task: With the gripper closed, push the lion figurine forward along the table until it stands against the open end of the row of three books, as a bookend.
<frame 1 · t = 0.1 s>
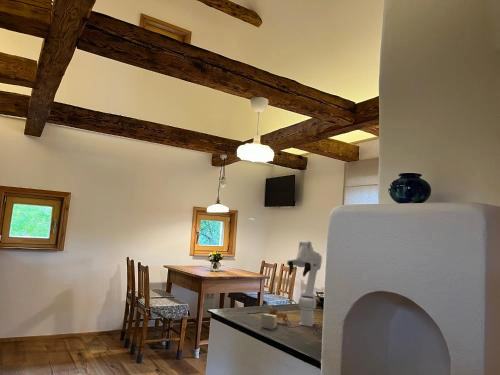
hand: (296, 274, 204), 32 cm above the countertop, tool tilted 50°, fingers open, 7 cm apart
lion figurine: (277, 323, 225), on the countertop
book row: (268, 326, 216), on the countertop
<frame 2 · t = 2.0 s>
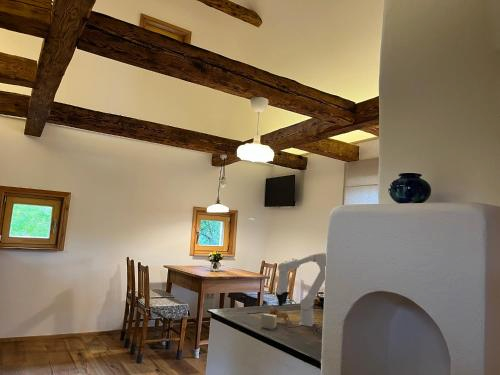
hand: (282, 304, 234), 9 cm above the countertop, tool pointing down, fingers open, 6 cm apart
nothing on the countertop moved.
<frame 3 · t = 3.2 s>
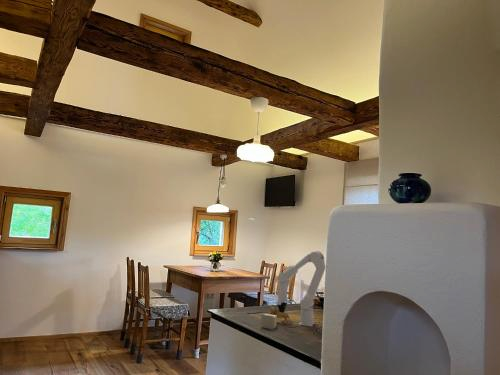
hand: (281, 314, 233), 3 cm above the countertop, tool pointing down, fingers closed
nothing on the countertop moved.
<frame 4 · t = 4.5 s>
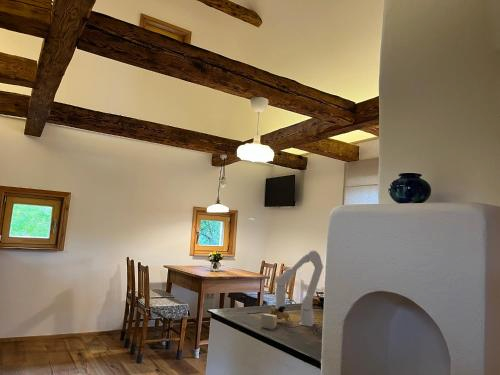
hand: (279, 318, 229), 2 cm above the countertop, tool pointing down, fingers closed
lion figurine: (279, 323, 225), on the countertop, touching gripper
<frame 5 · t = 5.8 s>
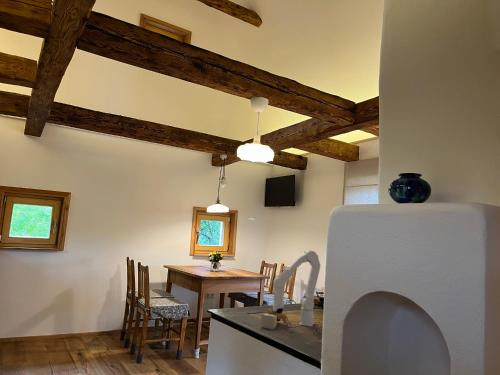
hand: (277, 321, 225), 1 cm above the countertop, tool pointing down, fingers closed, pressing on lion figurine
lion figurine: (278, 324, 222), on the countertop, touching book row, gripper
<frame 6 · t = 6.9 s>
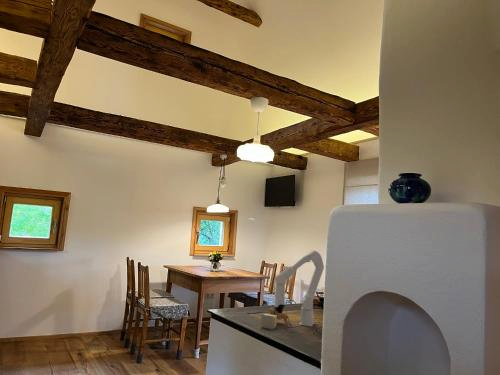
hand: (279, 317, 227), 3 cm above the countertop, tool pointing down, fingers closed
lion figurine: (278, 324, 222), on the countertop
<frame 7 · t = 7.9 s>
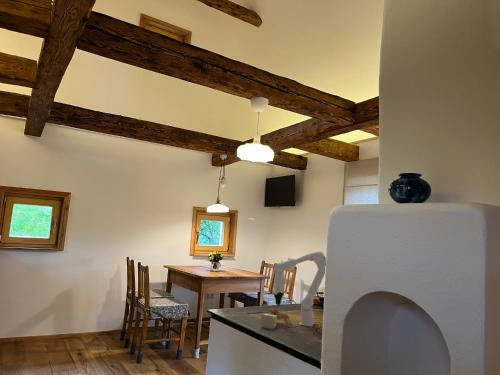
hand: (278, 304, 232), 9 cm above the countertop, tool pointing down, fingers closed
nothing on the countertop moved.
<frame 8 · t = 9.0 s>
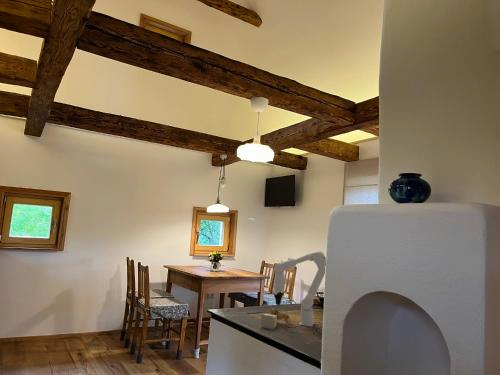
hand: (278, 304, 232), 9 cm above the countertop, tool pointing down, fingers closed
nothing on the countertop moved.
at the end: lion figurine 2.9 cm from the target spot, on the countertop; lion figurine tilted 0°; lion figurine moved 3.5 cm from its start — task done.
